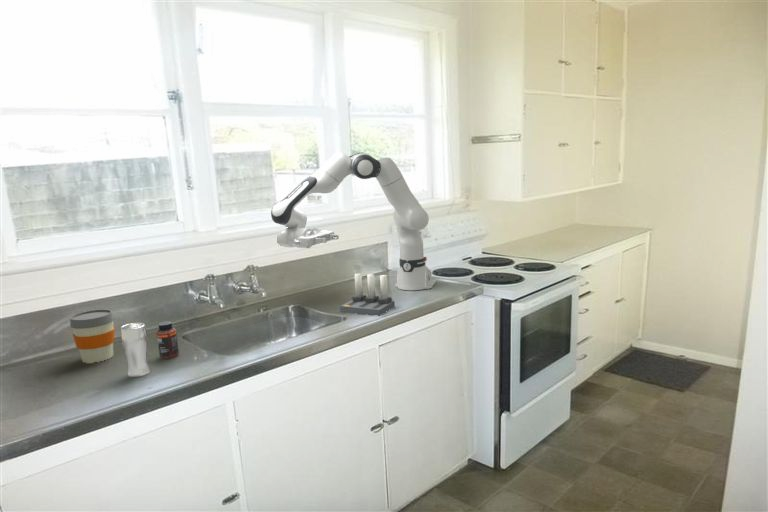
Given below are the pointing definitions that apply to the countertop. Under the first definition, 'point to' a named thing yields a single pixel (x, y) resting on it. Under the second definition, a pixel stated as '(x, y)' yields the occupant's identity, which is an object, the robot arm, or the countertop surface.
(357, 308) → the switch console
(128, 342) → the beer glass
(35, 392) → the countertop surface
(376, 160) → the robot arm
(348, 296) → the countertop surface
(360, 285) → the switch handle
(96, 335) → the reusable coffee cup
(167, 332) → the supplement bottle
